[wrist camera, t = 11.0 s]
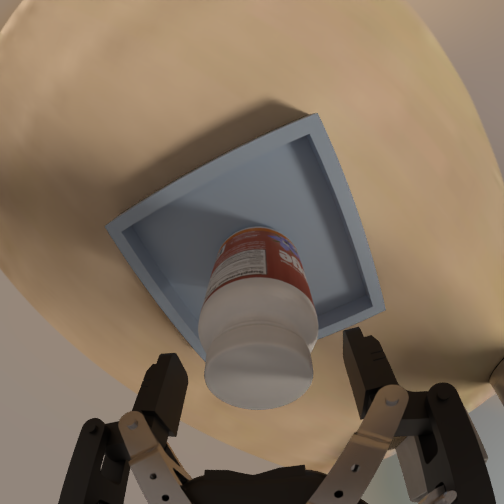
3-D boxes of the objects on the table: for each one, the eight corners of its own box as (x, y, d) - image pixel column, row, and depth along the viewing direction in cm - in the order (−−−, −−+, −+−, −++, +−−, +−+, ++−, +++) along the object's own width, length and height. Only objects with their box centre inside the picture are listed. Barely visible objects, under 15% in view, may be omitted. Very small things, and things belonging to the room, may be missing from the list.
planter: (462, 394, 33) (500, 477, 16) (464, 407, 36) (496, 480, 18) (385, 440, 38) (407, 527, 20) (395, 448, 40) (416, 523, 23)
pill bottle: (307, 284, 22) (340, 401, 12) (234, 305, 23) (222, 425, 13) (285, 211, 19) (316, 309, 9) (203, 239, 20) (159, 348, 10)
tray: (309, 114, 17) (317, 112, 15) (375, 293, 23) (385, 309, 21) (118, 215, 20) (104, 226, 18) (218, 354, 26) (215, 373, 24)
